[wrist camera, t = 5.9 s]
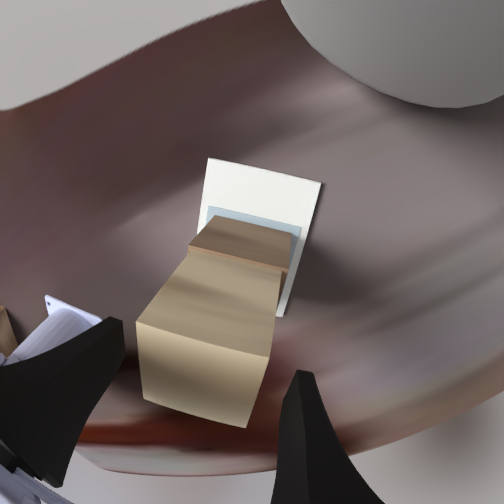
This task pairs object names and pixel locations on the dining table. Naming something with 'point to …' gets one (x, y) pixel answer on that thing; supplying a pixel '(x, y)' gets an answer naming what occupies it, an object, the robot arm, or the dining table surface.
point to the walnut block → (246, 244)
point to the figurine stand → (6, 334)
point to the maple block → (209, 337)
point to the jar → (411, 46)
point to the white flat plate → (261, 205)
